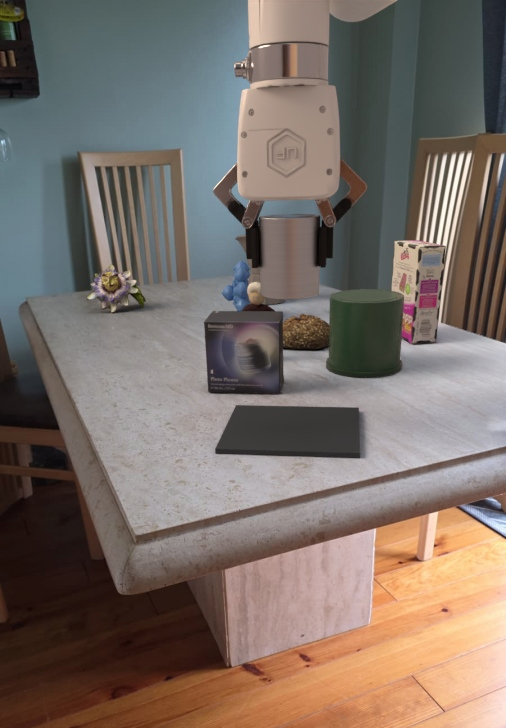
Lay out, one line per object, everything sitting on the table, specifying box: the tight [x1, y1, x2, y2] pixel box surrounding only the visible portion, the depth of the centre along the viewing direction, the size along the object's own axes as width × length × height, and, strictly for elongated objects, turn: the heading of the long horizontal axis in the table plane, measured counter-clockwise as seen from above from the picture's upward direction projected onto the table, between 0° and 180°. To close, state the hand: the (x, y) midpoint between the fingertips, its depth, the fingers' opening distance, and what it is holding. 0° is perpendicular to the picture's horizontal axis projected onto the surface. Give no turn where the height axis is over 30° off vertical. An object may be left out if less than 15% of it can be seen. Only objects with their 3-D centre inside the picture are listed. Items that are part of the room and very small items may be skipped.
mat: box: [214, 404, 361, 459], centre depth 75 cm, size 16×14×1 cm
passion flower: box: [86, 264, 147, 313], centre depth 144 cm, size 11×11×12 cm
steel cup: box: [258, 213, 321, 300], centre depth 66 cm, size 6×6×8 cm
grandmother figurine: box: [242, 282, 276, 311], centre depth 100 cm, size 8×4×13 cm, turn 92°
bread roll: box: [283, 313, 329, 350], centre depth 112 cm, size 13×12×5 cm
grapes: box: [221, 260, 251, 311], centre depth 127 cm, size 12×7×12 cm, turn 1°
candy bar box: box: [390, 239, 447, 345], centre depth 110 cm, size 11×5×16 cm, turn 10°
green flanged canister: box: [325, 288, 404, 379], centre depth 95 cm, size 12×12×11 cm
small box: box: [203, 310, 285, 395], centre depth 88 cm, size 11×6×10 cm, turn 82°
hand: (289, 264), depth 67 cm, fingers closed on steel cup, 6 cm apart
